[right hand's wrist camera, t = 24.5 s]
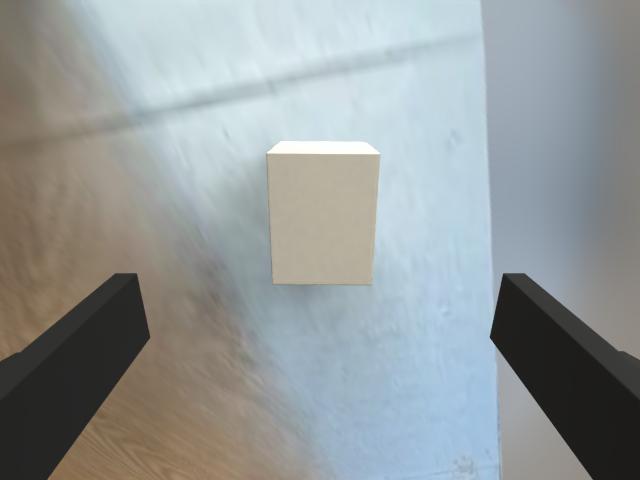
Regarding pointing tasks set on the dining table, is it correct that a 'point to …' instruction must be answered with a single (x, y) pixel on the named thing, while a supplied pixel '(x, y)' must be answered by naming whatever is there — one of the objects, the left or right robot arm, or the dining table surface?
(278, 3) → the dining table surface
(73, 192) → the dining table surface
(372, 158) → the block
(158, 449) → the dining table surface
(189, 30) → the dining table surface
